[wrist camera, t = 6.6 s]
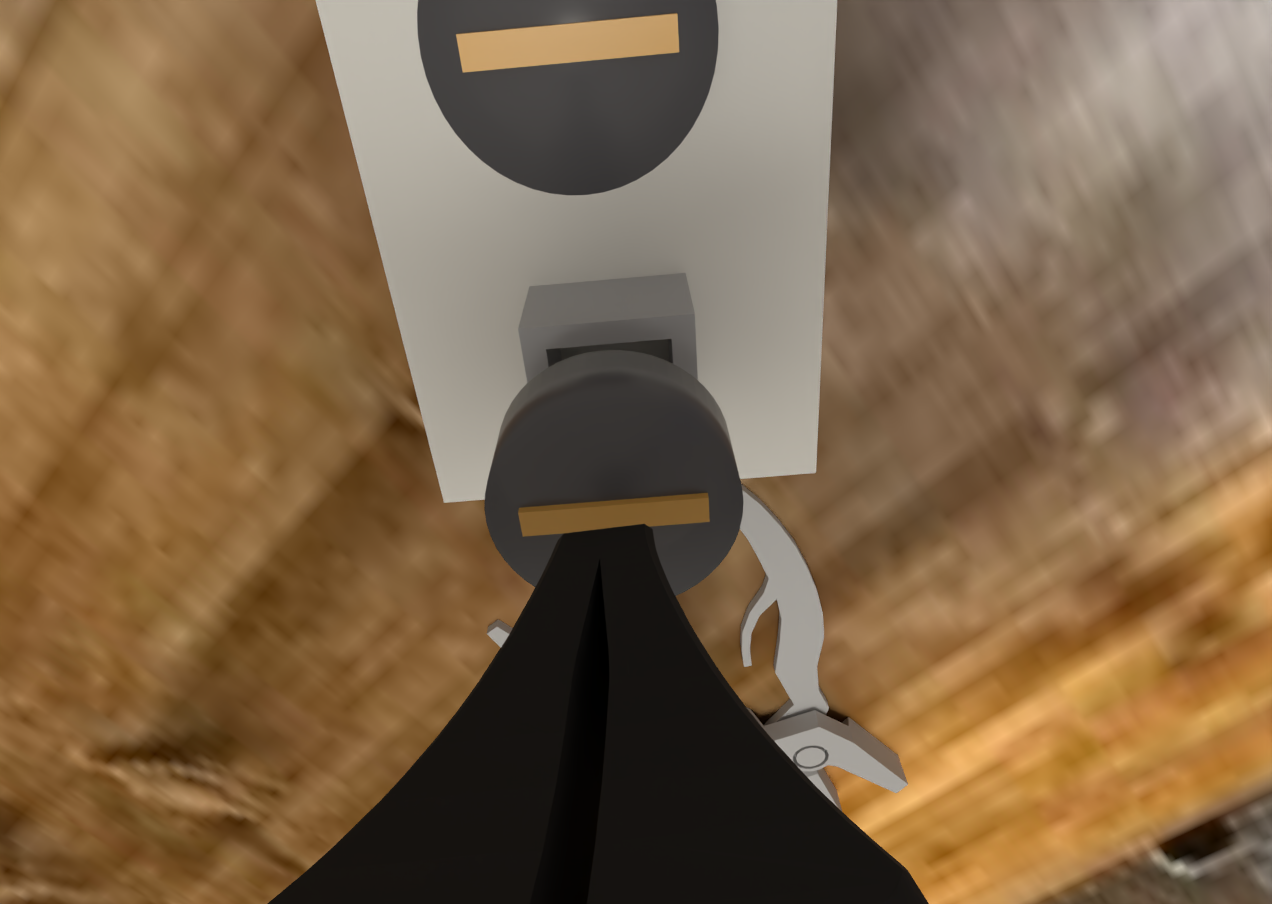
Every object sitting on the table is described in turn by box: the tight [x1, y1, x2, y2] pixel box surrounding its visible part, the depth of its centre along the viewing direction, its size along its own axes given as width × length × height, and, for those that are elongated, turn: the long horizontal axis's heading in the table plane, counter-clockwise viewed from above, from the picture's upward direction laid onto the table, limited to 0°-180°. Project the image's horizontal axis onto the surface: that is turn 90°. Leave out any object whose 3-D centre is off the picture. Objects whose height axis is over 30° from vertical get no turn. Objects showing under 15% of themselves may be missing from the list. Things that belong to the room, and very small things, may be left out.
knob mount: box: [316, 0, 837, 503], centre depth 15 cm, size 10×22×4 cm, turn 5°
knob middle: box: [417, 0, 719, 195], centre depth 13 cm, size 4×4×4 cm
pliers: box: [487, 484, 908, 811], centre depth 27 cm, size 10×2×15 cm
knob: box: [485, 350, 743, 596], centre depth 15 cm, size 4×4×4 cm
